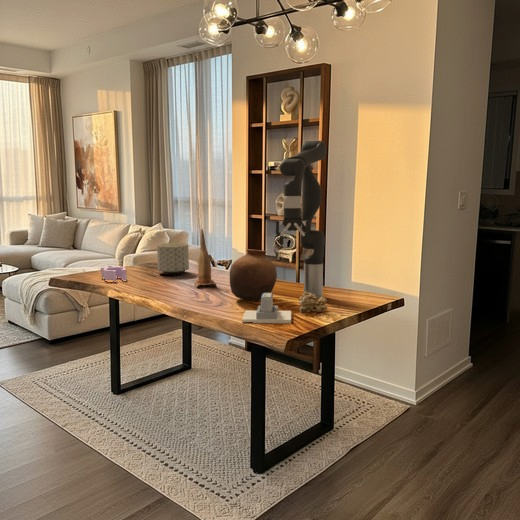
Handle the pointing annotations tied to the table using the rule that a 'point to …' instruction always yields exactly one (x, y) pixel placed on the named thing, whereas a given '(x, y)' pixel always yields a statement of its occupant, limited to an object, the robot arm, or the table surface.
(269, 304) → the medicine box
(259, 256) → the pottery
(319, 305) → the mineral formation
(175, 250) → the planter
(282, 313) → the holder
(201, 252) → the brown spire tower
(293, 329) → the table surface
